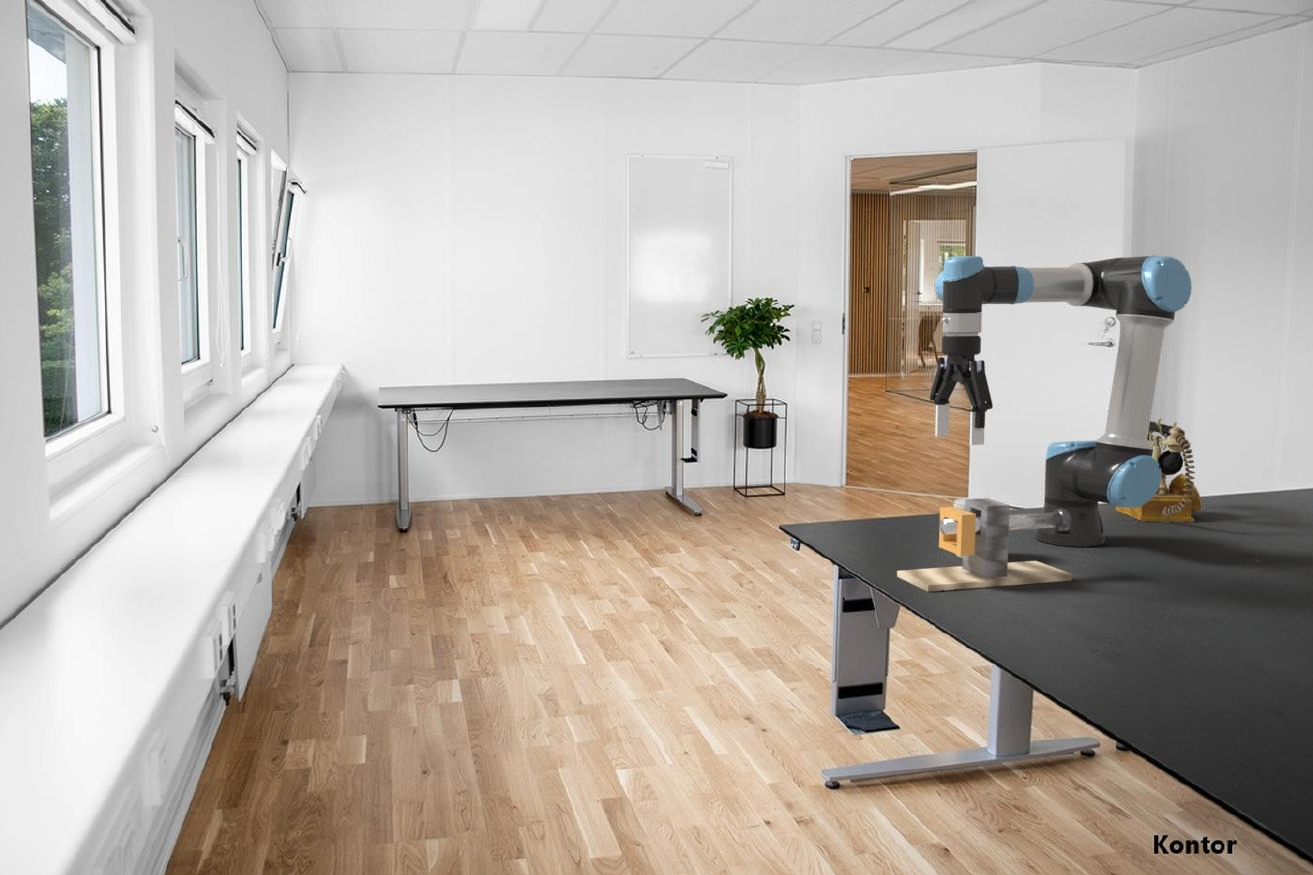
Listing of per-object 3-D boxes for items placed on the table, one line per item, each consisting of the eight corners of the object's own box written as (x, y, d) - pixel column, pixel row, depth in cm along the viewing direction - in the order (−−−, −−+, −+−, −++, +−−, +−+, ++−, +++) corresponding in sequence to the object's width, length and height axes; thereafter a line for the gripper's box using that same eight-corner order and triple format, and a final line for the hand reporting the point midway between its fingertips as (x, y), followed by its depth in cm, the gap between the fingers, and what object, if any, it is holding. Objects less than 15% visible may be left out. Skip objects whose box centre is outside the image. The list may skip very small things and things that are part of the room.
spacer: (952, 546, 223) (953, 506, 222) (974, 554, 215) (975, 514, 214) (938, 547, 222) (940, 507, 221) (960, 555, 214) (962, 515, 213)
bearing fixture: (1035, 566, 231) (1038, 493, 229) (1072, 580, 220) (1076, 503, 218) (897, 576, 222) (899, 500, 220) (927, 591, 211) (930, 511, 209)
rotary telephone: (1240, 534, 263) (1247, 429, 260) (1164, 534, 264) (1171, 429, 260) (1173, 506, 298) (1179, 414, 295) (1107, 506, 299) (1112, 414, 296)
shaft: (1057, 527, 227) (1058, 506, 226) (1071, 532, 223) (1072, 510, 222) (937, 535, 219) (938, 513, 219) (949, 540, 215) (950, 517, 215)
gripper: (914, 333, 233) (912, 433, 235) (977, 337, 209) (974, 449, 211) (946, 332, 234) (944, 432, 237) (1013, 336, 210) (1009, 447, 213)
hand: (958, 440), depth 224 cm, fingers open, 13 cm apart
